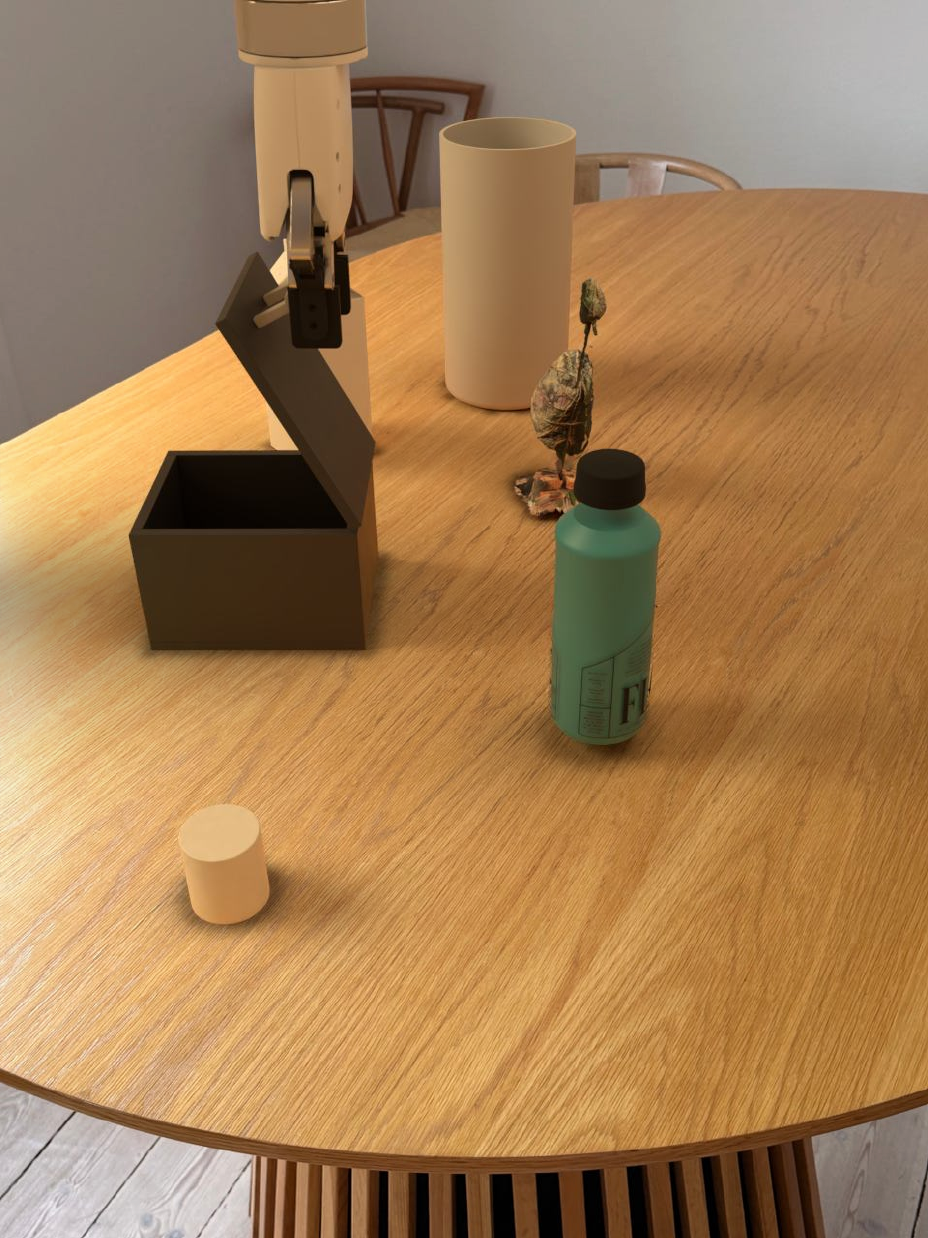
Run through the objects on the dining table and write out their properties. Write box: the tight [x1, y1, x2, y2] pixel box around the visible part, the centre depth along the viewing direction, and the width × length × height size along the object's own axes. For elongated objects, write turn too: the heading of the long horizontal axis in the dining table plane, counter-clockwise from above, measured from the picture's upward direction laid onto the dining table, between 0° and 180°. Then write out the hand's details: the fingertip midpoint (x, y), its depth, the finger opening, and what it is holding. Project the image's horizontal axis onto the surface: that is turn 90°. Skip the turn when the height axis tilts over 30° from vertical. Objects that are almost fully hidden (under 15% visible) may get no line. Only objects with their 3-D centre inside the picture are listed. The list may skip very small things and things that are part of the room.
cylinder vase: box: [438, 116, 577, 411], centre depth 118 cm, size 12×12×25 cm
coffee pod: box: [177, 803, 270, 925], centre depth 67 cm, size 4×4×5 cm
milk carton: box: [265, 238, 374, 450], centre depth 109 cm, size 7×7×19 cm
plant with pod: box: [513, 277, 608, 517], centre depth 101 cm, size 8×11×20 cm
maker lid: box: [214, 251, 377, 530], centre depth 82 cm, size 16×13×5 cm
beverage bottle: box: [547, 448, 662, 746], centre depth 74 cm, size 6×7×20 cm
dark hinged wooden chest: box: [128, 449, 379, 651], centre depth 90 cm, size 16×13×10 cm
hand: (322, 326), depth 80 cm, fingers closed on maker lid, 5 cm apart
